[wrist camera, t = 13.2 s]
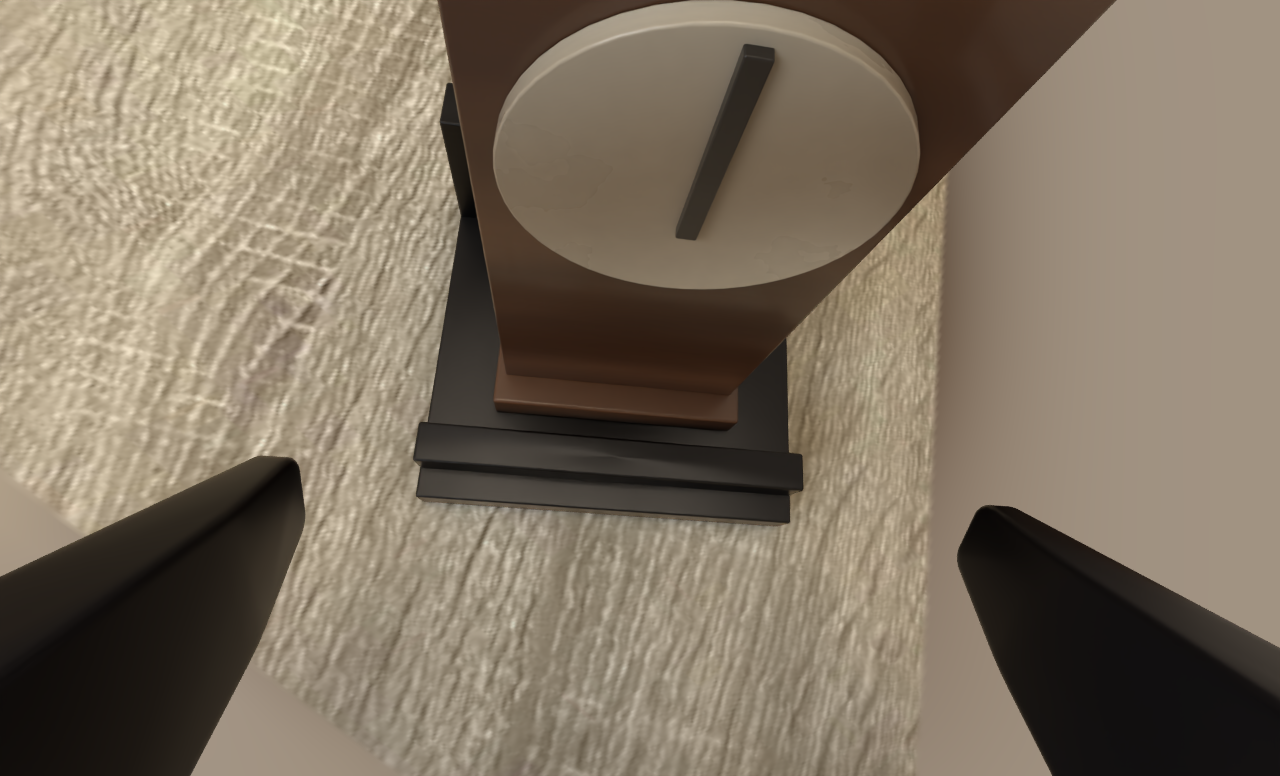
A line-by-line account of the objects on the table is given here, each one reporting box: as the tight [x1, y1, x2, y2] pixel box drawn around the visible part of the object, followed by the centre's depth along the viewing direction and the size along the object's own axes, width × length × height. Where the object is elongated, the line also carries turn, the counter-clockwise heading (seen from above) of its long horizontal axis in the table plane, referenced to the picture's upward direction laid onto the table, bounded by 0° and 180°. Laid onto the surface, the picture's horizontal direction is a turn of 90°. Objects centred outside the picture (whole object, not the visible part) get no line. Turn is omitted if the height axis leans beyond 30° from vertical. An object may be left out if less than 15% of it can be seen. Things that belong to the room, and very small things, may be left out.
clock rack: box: [413, 83, 803, 526], centre depth 17 cm, size 10×10×5 cm
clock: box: [438, 0, 1116, 431], centre depth 11 cm, size 5×6×14 cm
